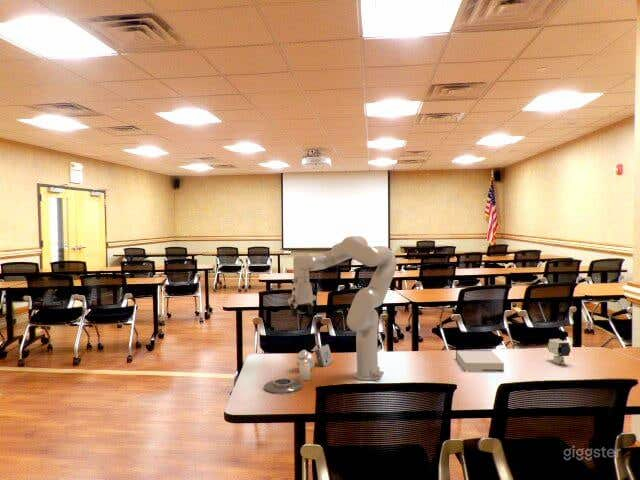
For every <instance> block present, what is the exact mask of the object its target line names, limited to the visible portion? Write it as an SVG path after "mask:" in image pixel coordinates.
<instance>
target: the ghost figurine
mask: <svg viewBox="0 0 640 480" xmlns="http://www.w3.org/2000/svg"><path fill="white" fill-rule="evenodd" d="M302 362H308V363H310V370H312V369H313V368H314V367H315V364H316V358H315V356H314V354H313V353H311V352H309V351H307V350H306V349H302V350H301V351H299V352H298V354H297V358H296V365H297V367H298V368H299V363H302Z"/></svg>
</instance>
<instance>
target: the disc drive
mask: <svg viewBox="0 0 640 480" xmlns="http://www.w3.org/2000/svg"><path fill="white" fill-rule="evenodd" d="M455 359H456V360H457V362H458V363H459V365H460V364H461V365H460V366H461V368H462V367H463V368H462V369H463V371H464V370H465V371H469V372H468V373H504V372H505V363H504V361H502V360H501V358H499V357H498V356H497V355H496V354H495V353H494V352H493V351H492V350H490V349H487V350H486V349H481V350H479V349H474V350H473V349H472V350H471V349H455ZM465 371H464V372H465Z"/></svg>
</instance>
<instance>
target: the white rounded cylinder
mask: <svg viewBox="0 0 640 480" xmlns="http://www.w3.org/2000/svg"><path fill="white" fill-rule="evenodd" d="M298 373H299V376H298V377H299V379H301V380H308V381H310V380H311V369H310V363H308V362H302V363H299V367H298ZM309 379H310V380H309ZM301 380H300V381H301Z"/></svg>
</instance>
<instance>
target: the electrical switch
mask: <svg viewBox="0 0 640 480" xmlns="http://www.w3.org/2000/svg"><path fill="white" fill-rule="evenodd" d="M329 345H330V344H324V345H323V346H321V347H319V348H318V349H316V350H314V354H315V357H316V361H317V364H318V367H321V366H322V367H323V368H325V367H328V366H329V365H331V364H332V363H333V362H334V359H333V356H332V353H331V349H330V346H329Z"/></svg>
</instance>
